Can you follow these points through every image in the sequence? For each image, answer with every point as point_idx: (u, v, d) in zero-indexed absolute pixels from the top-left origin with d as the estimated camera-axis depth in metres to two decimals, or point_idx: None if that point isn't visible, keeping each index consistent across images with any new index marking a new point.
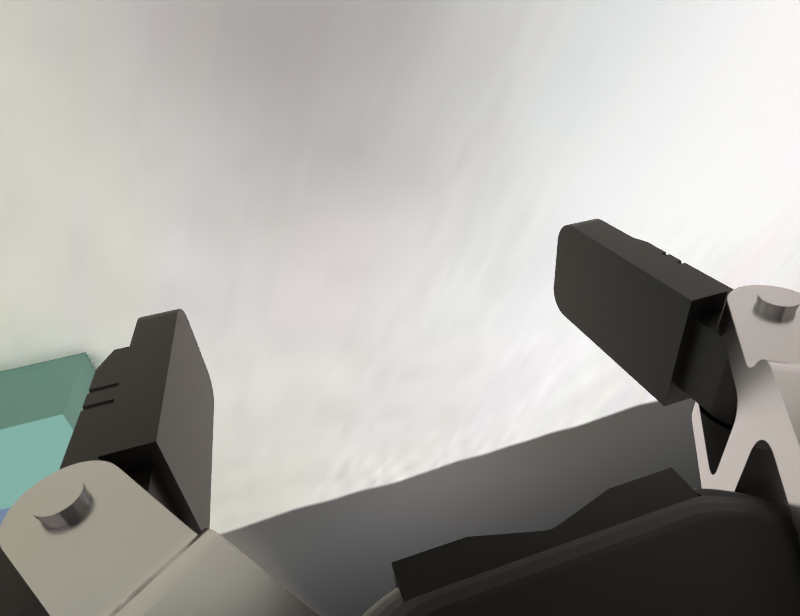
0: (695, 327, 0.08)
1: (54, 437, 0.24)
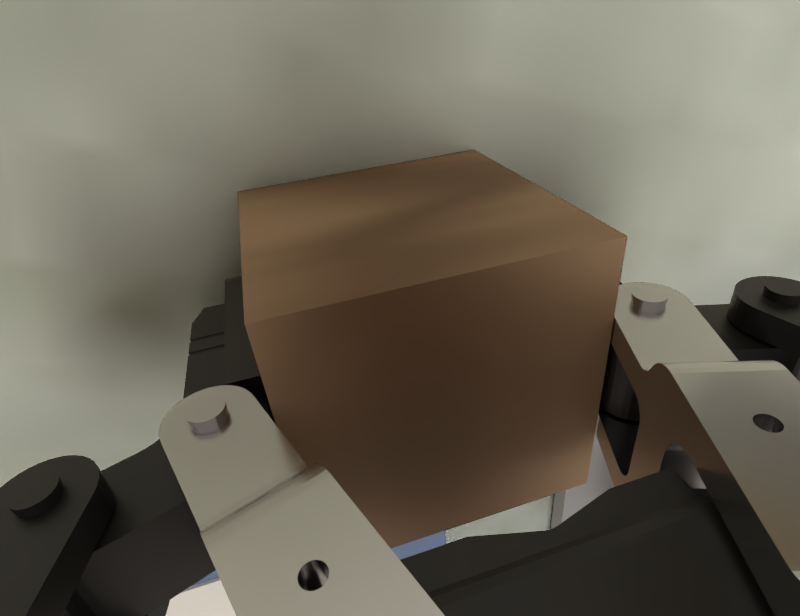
0: None
1: None
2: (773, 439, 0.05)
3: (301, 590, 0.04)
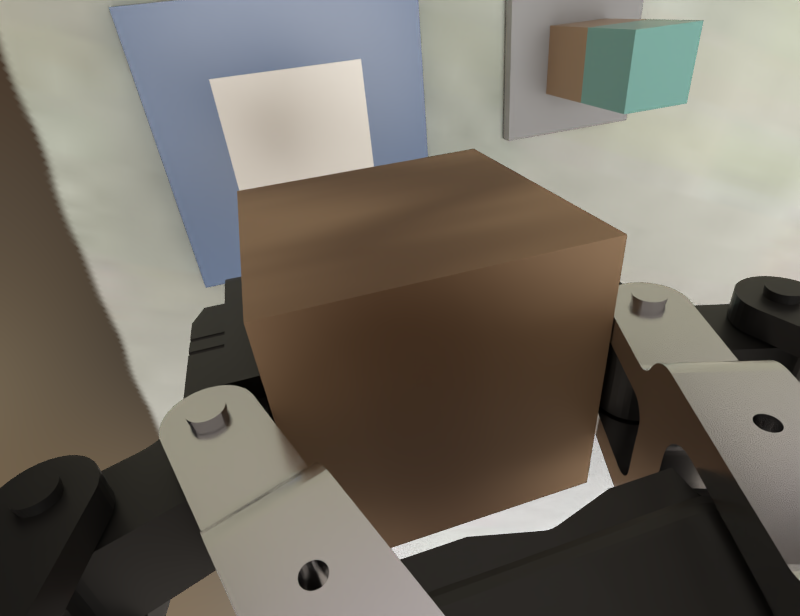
0: None
1: None
2: (773, 439, 0.05)
3: (301, 589, 0.04)
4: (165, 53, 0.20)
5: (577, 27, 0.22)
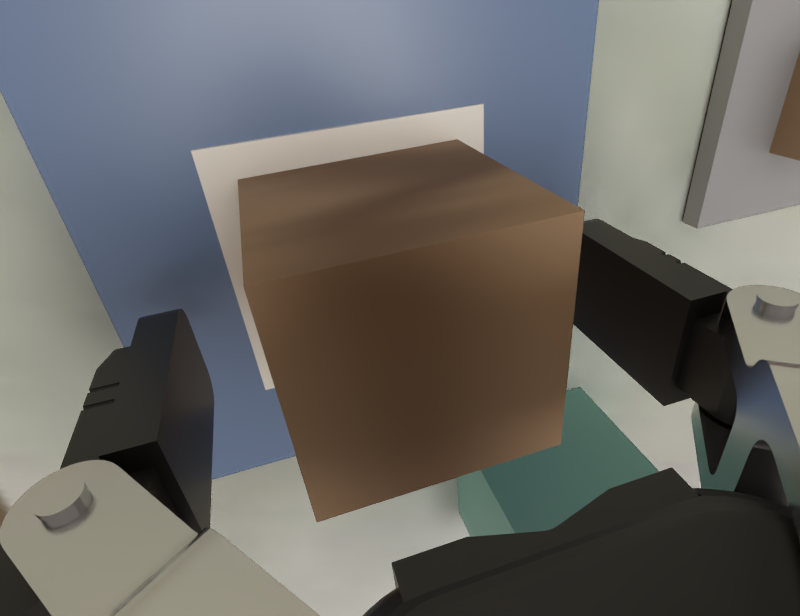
0: (694, 327, 0.08)
1: None
2: None
3: None
4: (97, 101, 0.09)
5: None
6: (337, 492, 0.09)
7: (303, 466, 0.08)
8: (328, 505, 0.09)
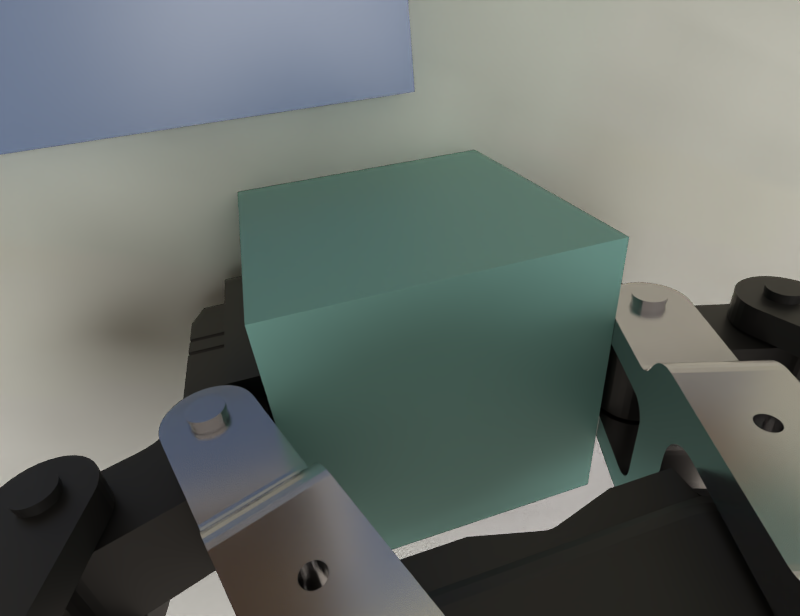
0: None
1: (527, 472, 0.09)
2: (773, 438, 0.05)
3: (300, 590, 0.04)
4: None
5: None
6: None
7: None
8: None
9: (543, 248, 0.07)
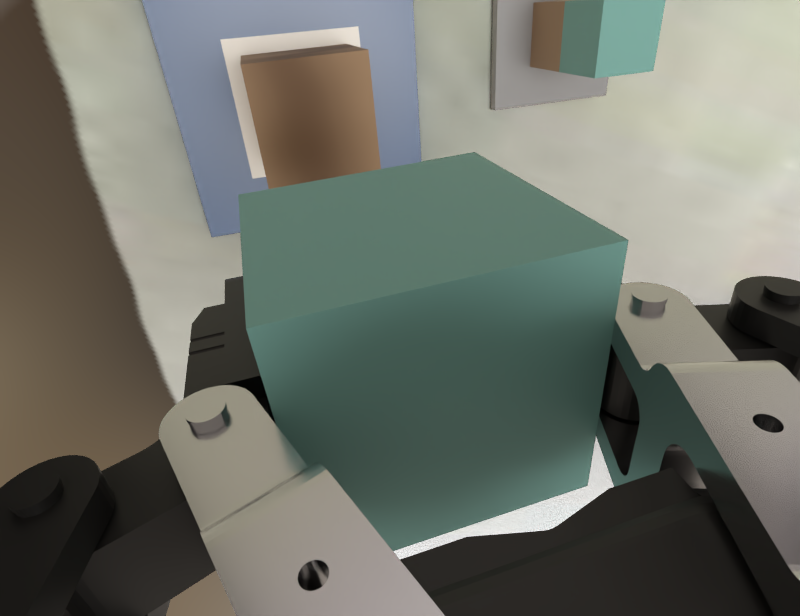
0: None
1: (527, 473, 0.09)
2: (772, 438, 0.05)
3: (301, 590, 0.04)
4: (182, 14, 0.22)
5: (556, 2, 0.24)
6: (277, 176, 0.21)
7: (263, 156, 0.21)
8: (274, 183, 0.21)
9: (543, 251, 0.07)
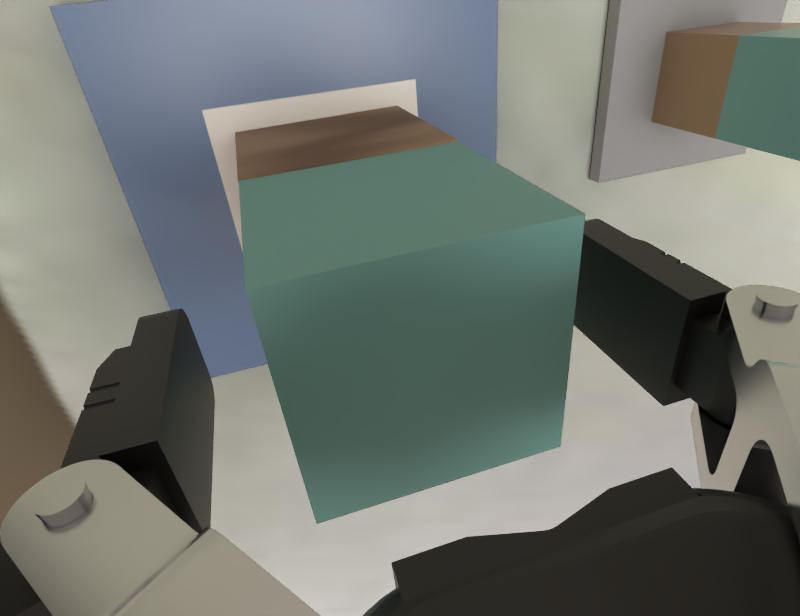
0: (694, 327, 0.08)
1: (502, 432, 0.09)
2: None
3: None
4: (138, 73, 0.13)
5: (718, 35, 0.16)
6: None
7: None
8: None
9: (509, 223, 0.07)
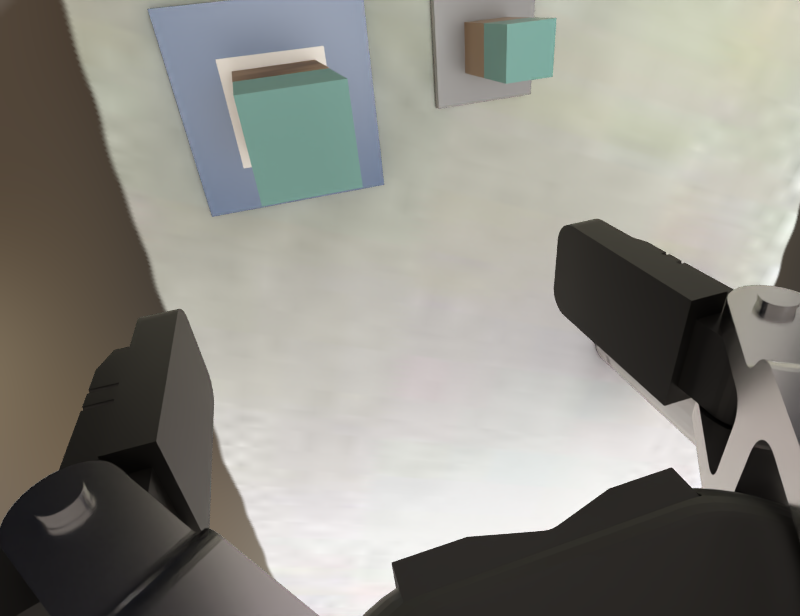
0: (695, 327, 0.08)
1: (334, 174, 0.24)
2: None
3: None
4: (185, 40, 0.28)
5: (478, 23, 0.30)
6: None
7: None
8: None
9: (321, 81, 0.22)
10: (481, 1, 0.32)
